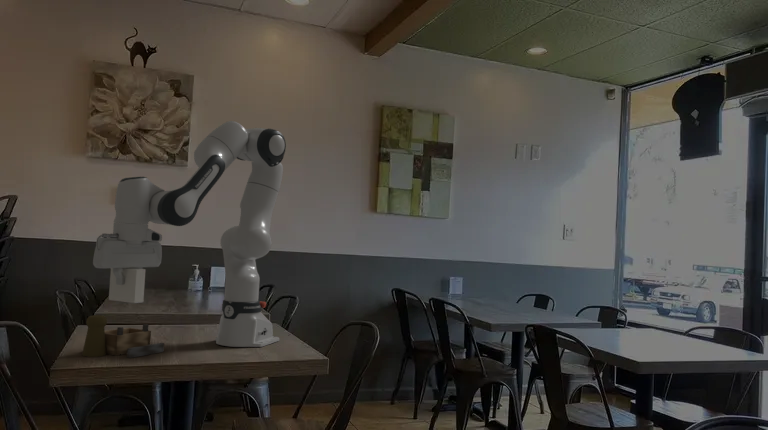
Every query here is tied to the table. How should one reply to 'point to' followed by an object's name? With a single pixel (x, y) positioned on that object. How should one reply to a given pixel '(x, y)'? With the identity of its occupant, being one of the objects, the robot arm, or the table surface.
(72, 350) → the table surface
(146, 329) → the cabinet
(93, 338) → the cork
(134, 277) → the white rectangular block
